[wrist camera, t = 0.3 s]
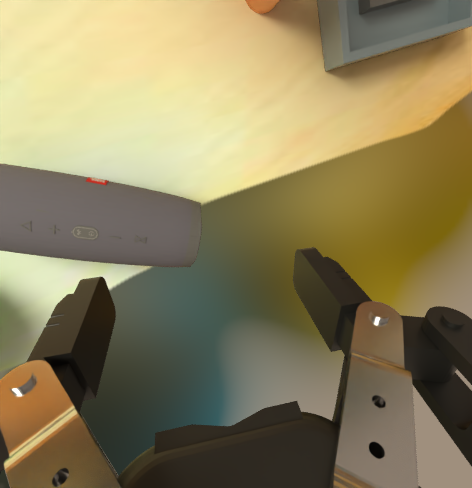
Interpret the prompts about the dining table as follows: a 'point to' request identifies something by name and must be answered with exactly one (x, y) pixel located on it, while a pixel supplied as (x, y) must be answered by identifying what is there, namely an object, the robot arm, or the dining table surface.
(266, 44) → the dining table surface
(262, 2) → the peg
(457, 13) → the tray
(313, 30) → the dining table surface
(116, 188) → the bluetooth speaker
